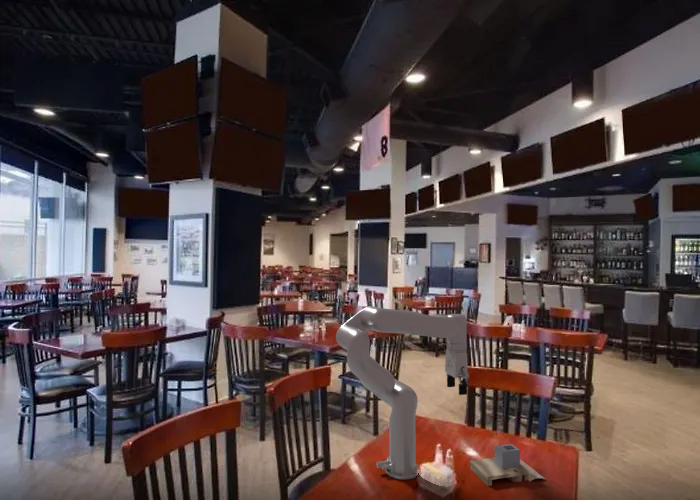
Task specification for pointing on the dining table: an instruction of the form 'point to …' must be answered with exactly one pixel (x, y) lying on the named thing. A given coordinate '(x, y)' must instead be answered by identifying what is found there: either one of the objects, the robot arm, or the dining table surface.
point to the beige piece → (531, 472)
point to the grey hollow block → (507, 456)
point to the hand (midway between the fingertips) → (456, 390)
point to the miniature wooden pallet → (497, 471)
